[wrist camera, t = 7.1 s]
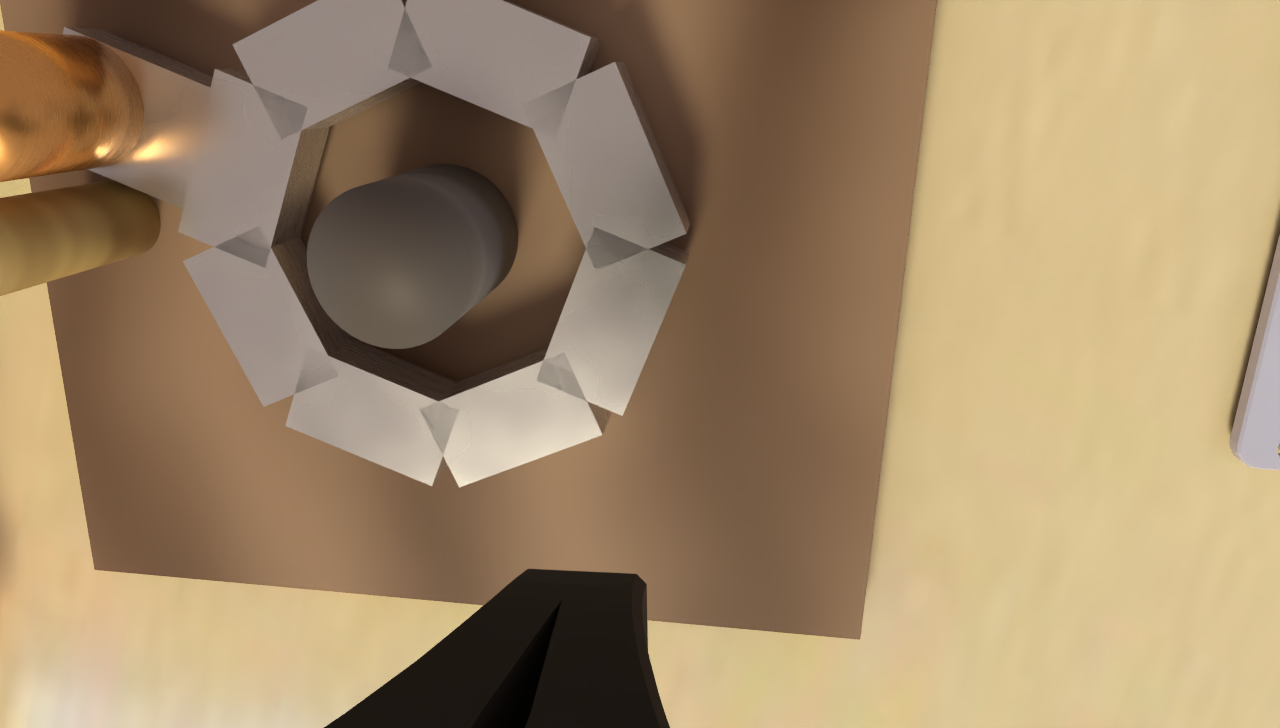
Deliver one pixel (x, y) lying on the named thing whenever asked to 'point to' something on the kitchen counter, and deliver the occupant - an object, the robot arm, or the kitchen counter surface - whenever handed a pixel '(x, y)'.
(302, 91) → the white segmented ring
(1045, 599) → the kitchen counter surface
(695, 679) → the kitchen counter surface
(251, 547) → the peg base
